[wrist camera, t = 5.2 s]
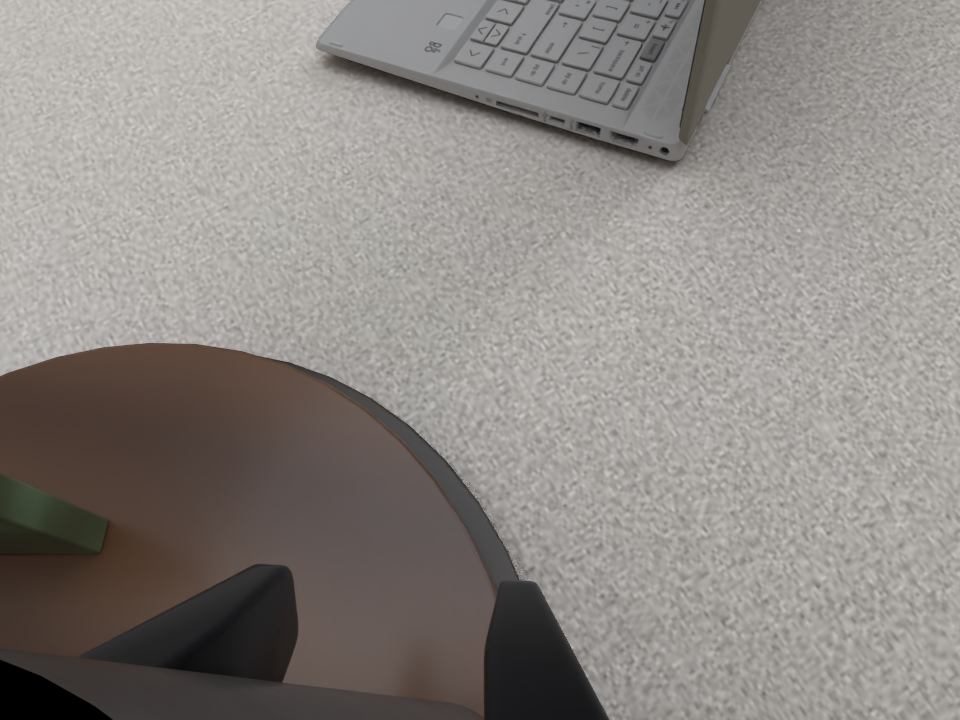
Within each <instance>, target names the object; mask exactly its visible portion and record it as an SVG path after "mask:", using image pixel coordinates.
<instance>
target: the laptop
mask: <svg viewBox="0 0 960 720" xmlns="http://www.w3.org/2000/svg"><path fill="white" fill-rule="evenodd" d="M762 1H763V0H351V1H350V2H349V3H348V4H347V6H346V7H345V8H344V9H343V10H342V11H341V13H340V14H339V15H338V16H337V17H336V18H335V20H334V21H333V22H332V23H331V24H330V25H329V26H328V28H327V29H326V30H325V31H324V32H323V34H322V35H321V36H320V37H319V39H318V41H317V44H316V48H317V49H319V50H321V51H324V52H327V53H330V54H333V55H336V56H339V57H342V58H345V59H348V60H351V61H354V62H357V63H361V64H364V65H367V66H370V67H373V68H376V69H379V70H382V71H385V72H388V73H391V74H394V75H397V76H400V77H403V78H406V79H409V80H412V81H415V82H418V83H421V84H425V85H428V86H431V87H434V88H437V89H440V90H443V91H446V92H449V93H452V94H455V95H458V96H461V97H465V98H468V99H471V100H474V101H477V102H480V103H483V104H486V105H489V106H492V107H496V108H499V109H502V110H505V111H508V112H511V113H514V114H517V115H521V116H524V117H527V118H530V119H533V120H536V121H539V122H542V123H546V124H549V125H552V126H555V127H559V128H562V129H565V130H568V131H572V132H575V133H578V134H581V135H585V136H588V137H591V138H594V139H597V140H601V141H604V142H607V143H611V144H614V145H618V146H621V147H625V148H628V149H632V150H635V151H638V152H642V153H645V154H649V155H652V156H656V157H659V158H663V159H666V160H670V161H677V160H680V159H681V158H682V157H683V155H684V153H685V151H686V149H687V148H688V146H689V144H690V142H691V140H692V138H693V136H694V135H695V133H696V131H697V126H698V124H699V122H700V120H701V118H702V116H703V114H705V113H707V112H708V111H709V110H710V108H711V106H712V104H713V102H714V100H715V98H716V96H717V94H718V92H719V90H720V88H721V86H722V84H723V82H724V80H725V78H726V76H727V74H728V72H729V70H730V68H731V67H730V64H731V62H732V60H733V58H734V56H735V54H736V52H737V50H738V48H739V46H740V44H741V42H742V40H743V38H744V36H745V34H746V32H747V30H748V28H749V26H750V24H751V22H752V20H753V18H754V17H755V15H756V13H757V11H758V9H759V7H760V5H761V3H762Z"/></svg>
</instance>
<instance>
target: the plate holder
mask: <svg viewBox="0 0 960 720" xmlns="http://www.w3.org/2000/svg"><path fill="white" fill-rule="evenodd" d="M255 564H270V565H284V566H287V567H288V568H289V569H290V570H291V572H292V575H293V579H294V588H295V597H296V606H297V615H298V626H299V627H298V638H297V642H296V646H295V649H294V652H293V655H292V657H291V660H290V663H289V666H288V668H287V671H286V674H285V677H284V680H283V682H275V681H267V680H258V679H250V678H242V677H233V676H225V675H217V674H209V673H200V672H192V671H184V670H176V669H167V668H159V667H151V666H143V665H134V664H126V663H118V662H110V661H101V660H93V659H85V658H77V657H78V656H80V655H82V654H84V653H86V652H88V651H89V650H91V649H93V648H95V647H97V646H99V645H101V644H103V643H105V642H107V641H109V640H110V639H112V638H114V637H116V636H118V635H120V634H122V633H124V632H126V631H128V630H130V629H132V628H133V627H135V626H137V625H139V624H141V623H143V622H145V621H147V620H149V619H151V618H153V617H155V616H156V615H158V614H160V613H162V612H164V611H166V610H168V609H170V608H172V607H174V606H176V605H178V604H179V603H181V602H183V601H185V600H187V599H189V598H191V597H193V596H195V595H197V594H199V593H201V592H202V591H204V590H206V589H208V588H210V587H212V586H214V585H216V584H218V583H220V582H222V581H224V580H225V579H227V578H229V577H231V576H233V575H235V574H237V573H239V572H241V571H243V570H245V569H246V568H248V567H250V566H252V565H255ZM497 593H498V591H497V589H496V587H495V585H494V583H493V580H492V578H491V576H490V574H489V572H488V570H487V568H486V565H485V563H484V561H483V559H482V557H481V555H480V553H479V550H478V548H477V546H476V544H475V542H474V540H473V538H472V536H471V534H470V532H469V530H468V528H467V526H466V524H465V523H464V521H463V520H462V518H461V517H460V515H459V513H458V512H457V510H456V509H455V507H454V506H453V504H452V503H451V501H450V499H449V498H448V496H447V495H446V493H445V492H444V490H443V488H442V487H441V485H440V484H439V482H438V481H437V480H436V478H435V477H434V476H433V475H432V474H431V473H430V471H429V470H428V469H427V468H426V467H425V466H424V464H423V463H422V462H421V461H420V460H419V459H418V457H417V456H416V455H415V454H414V453H413V452H412V450H411V449H410V448H409V447H408V446H407V445H406V443H405V442H404V441H403V440H402V439H401V438H399V437H398V436H397V435H396V434H395V433H394V432H393V431H391V430H390V429H389V428H388V427H387V426H386V425H385V424H383V423H382V422H381V421H380V420H379V419H378V418H377V417H375V416H374V415H373V414H372V413H371V412H370V411H369V410H367V409H366V408H365V407H363V406H361V405H360V404H358V403H357V402H355V401H354V400H352V399H351V398H349V397H348V396H346V395H344V394H343V393H341V392H340V391H338V390H337V389H335V388H334V387H332V386H331V385H329V384H327V383H325V382H323V381H321V380H319V379H317V378H314V377H312V376H310V375H308V374H306V373H304V372H301V371H299V370H297V369H295V368H293V367H290V366H288V365H286V364H283V363H280V362H276V361H273V360H269V359H266V358H263V357H259V356H256V355H253V354H249V353H246V352H242V351H237V350H230V349H224V348H217V347H211V346H204V345H198V344H169V343H145V344H135V345H124V346H113V347H103V348H98V349H94V350H89V351H84V352H79V353H75V354H70V355H65V356H60V357H56V358H53V359H49V360H46V361H43V362H40V363H37V364H34V365H31V366H28V367H25V368H21V369H18V370H15V371H12V372H9V373H7V374H4V375H2V376H0V720H484V648H485V643H486V637H487V633H488V629H489V625H490V621H491V617H492V613H493V609H494V605H495V601H496V597H497Z"/></svg>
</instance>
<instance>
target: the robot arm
mask: <svg viewBox="0 0 960 720" xmlns="http://www.w3.org/2000/svg"><path fill="white" fill-rule="evenodd" d="M298 627H299V626H298V615H297V606H296V597H295V588H294V579H293V575H292V572H291V570H290V569H289V568H288V567H287V566H284V565H270V564H255V565H252V566H250V567H248V568H246V569H245V570H243V571H241V572H239V573H237V574H235V575H233V576H231V577H229V578H227V579H225V580H224V581H222V582H220V583H218V584H216V585H214V586H212V587H210V588H208V589H206V590H204V591H202V592H201V593H199V594H197V595H195V596H193V597H191V598H189V599H187V600H185V601H183V602H181V603H179V604H178V605H176V606H174V607H172V608H170V609H168V610H166V611H164V612H162V613H160V614H158V615H156V616H155V617H153V618H151V619H149V620H147V621H145V622H143V623H141V624H139V625H137V626H135V627H133V628H132V629H130V630H128V631H126V632H124V633H122V634H120V635H118V636H116V637H114V638H112V639H110V640H109V641H107V642H105V643H103V644H101V645H99V646H97V647H95V648H93V649H91V650H89V651H88V652H86V653H84V654H82V655H80V656H78V657H77V658H85V659H93V660H101V661H110V662H118V663H126V664H134V665H143V666H151V667H159V668H167V669H176V670H184V671H192V672H200V673H209V674H217V675H225V676H233V677H242V678H250V679H258V680H267V681H275V682H283V680H284V677H285V674H286V671H287V668H288V666H289V663H290V660H291V657H292V655H293V652H294V649H295V646H296V642H297V638H298ZM484 720H609V718H608V716H607V715H606V713H605V711H604V709H603V707H602V705H601V703H600V701H599V699H598V698H597V696H596V694H595V692H594V690H593V688H592V686H591V684H590V682H589V681H588V679H587V677H586V675H585V673H584V671H583V669H582V667H581V665H580V664H579V662H578V660H577V658H576V656H575V654H574V652H573V650H572V648H571V647H570V645H569V643H568V641H567V639H566V637H565V635H564V633H563V631H562V630H561V628H560V626H559V624H558V622H557V620H556V618H555V616H554V614H553V613H552V611H551V609H550V607H549V605H548V603H547V601H546V599H545V597H544V596H543V594H542V592H541V590H540V588H539V586H538V585H537V584H536V583H535V582H532V581H518V580H504V581H502V582H501V583H500V585H499V589H498V593H497V597H496V601H495V605H494V609H493V613H492V617H491V621H490V625H489V629H488V633H487V637H486V643H485V648H484Z"/></svg>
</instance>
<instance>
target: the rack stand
mask: <svg viewBox="0 0 960 720" xmlns="http://www.w3.org/2000/svg"><path fill="white" fill-rule="evenodd" d="M259 357H260V356H259ZM263 358H265V357H263ZM266 359H269V360H273V361H276V362H280V363H283V364H286V365H288V366H290V367H293V368H295V369H297V370H299V371H301V372H304V373H306V374H308V375H310V376H312V377H314V378H317V379H319V380H321V381H323V382H325V383H327V384H329V385H331V386H332V387H334V388H335V389H337V390H338V391H340V392H341V393H343V394H344V395H346V396H348V397H349V398H351V399H352V400H354V401H355V402H357V403H358V404H360V405H361V406H363V407H365V408H366V409H367V410H369V411H370V412H371V413H372V414H373V415H374V416H375V417H377V418H378V419H379V420H380V421H381V422H382V423H383V424H385V425H386V426H387V427H388V428H389V429H390V430H391V431H393V432H394V433H395V434H396V435H397V436H398V437H399V438H401V439H402V440H403V441H404V442H405V443H406V445H407V446H408V447H409V448H410V449H411V450H412V452H413V453H414V454H415V455H416V456H417V457H418V459H419V460H420V461H421V462H422V463H423V464H424V466H425V467H426V468H427V469H428V470H429V471H430V473H431V474H432V475H433V476H434V477H435V478H436V480H437V481H438V482H439V484H440V485H441V487H442V488H443V490H444V492H445V493H446V495H447V496H448V498H449V499H450V501H451V503H452V504H453V506H454V507H455V509H456V510H457V512H458V513H459V515H460V517H461V518H462V520H463V521H464V523H465V524H466V526H467V528H468V530H469V532H470V534H471V536H472V538H473V540H474V542H475V544H476V546H477V548H478V550H479V553H480V555H481V557H482V559H483V561H484V563H485V565H486V568H487V570H488V572H489V574H490V576H491V578H492V580H493V583H494V585H495V587H496V589H497V591H498V589H499V585H500V583H501V582H502V581H504V580H518V581H520V580H519V578H518V575H517V573H516V571H515V568H514V566H513V564H512V561H511V559H510V557H509V554H508V552H507V550H506V548H505V546H504V545H503V543H502V541H501V540H500V538H499V536H498V534H497V533H496V531H495V529H494V528H493V526H492V524H491V522H490V521H489V519H488V517H487V516H486V514H485V512H484V511H483V509H482V507H481V505H480V504H479V502H478V501H477V499H476V498H475V497H474V496H473V494H472V493H471V492H470V491H469V489H468V488H467V487H466V485H465V484H464V483H463V482H462V480H461V479H460V478H459V477H458V475H457V474H456V473H455V471H454V470H453V469H452V468H451V466H450V465H449V464H448V463H447V461H446V460H445V459H444V458H443V457H442V456H441V455H440V454H439V453H438V452H437V451H435V450H434V449H433V448H432V447H431V446H430V445H429V444H428V443H427V442H426V441H425V440H424V439H423V438H422V437H421V436H420V435H419V434H418V433H417V432H416V431H415V430H414V429H413V428H412V427H411V426H409V425H408V424H406V423H405V422H404V421H402V420H401V419H399V418H398V417H397V416H395V415H394V414H393V413H391V412H390V411H388V410H387V409H386V408H384V407H383V406H381V405H380V404H379V403H377V402H376V401H374V400H373V399H372V398H370V397H368V396H366V395H364V394H362V393H360V392H358V391H356V390H354V389H352V388H351V387H349V386H347V385H345V384H343V383H341V382H339V381H337V380H335V379H333V378H331V377H329V376H326V375H323V374H320V373H317V372H314V371H312V370H309V369H306V368H303V367H300V366H298V365H295V364H292V363H289V362H284V361H279V360H275V359H270V358H266Z"/></svg>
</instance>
